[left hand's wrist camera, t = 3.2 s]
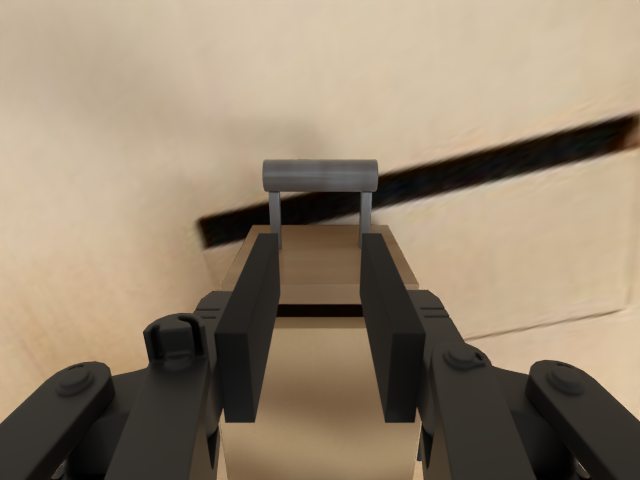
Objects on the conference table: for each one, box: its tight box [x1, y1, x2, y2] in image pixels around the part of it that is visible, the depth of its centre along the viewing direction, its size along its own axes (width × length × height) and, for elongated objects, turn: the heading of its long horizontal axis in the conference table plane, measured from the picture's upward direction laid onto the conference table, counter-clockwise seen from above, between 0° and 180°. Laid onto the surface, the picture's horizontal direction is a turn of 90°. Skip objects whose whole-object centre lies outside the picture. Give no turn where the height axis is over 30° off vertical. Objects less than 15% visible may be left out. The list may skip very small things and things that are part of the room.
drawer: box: [222, 160, 419, 317], centre depth 25 cm, size 26×10×9 cm, turn 0°
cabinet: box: [220, 317, 421, 480], centre depth 27 cm, size 22×11×11 cm, turn 0°
